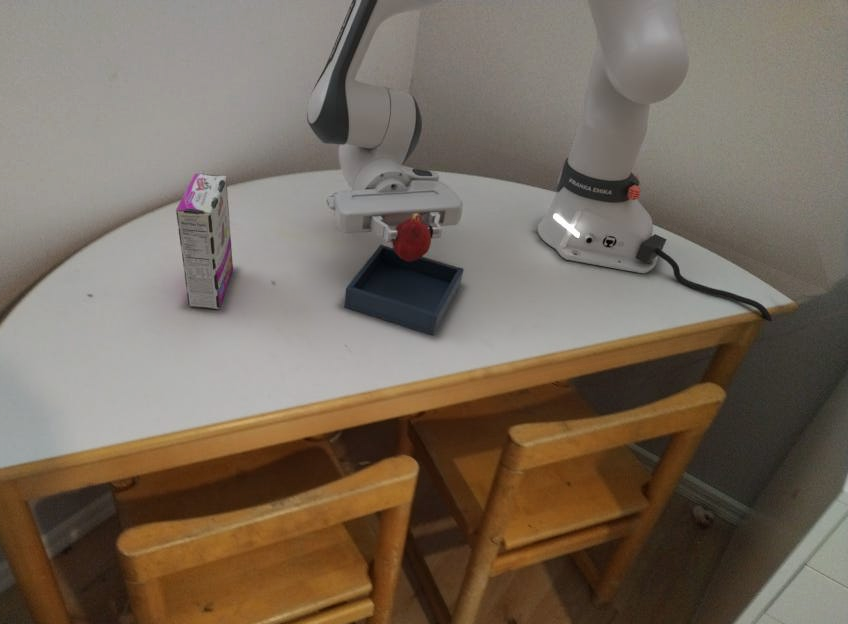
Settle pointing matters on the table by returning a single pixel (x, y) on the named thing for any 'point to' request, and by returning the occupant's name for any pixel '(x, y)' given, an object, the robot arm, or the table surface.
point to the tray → (404, 290)
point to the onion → (412, 239)
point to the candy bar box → (205, 240)
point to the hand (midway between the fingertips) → (415, 235)
